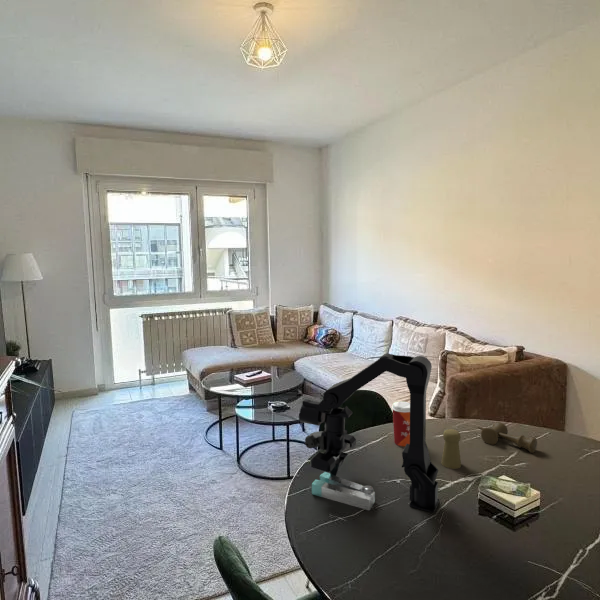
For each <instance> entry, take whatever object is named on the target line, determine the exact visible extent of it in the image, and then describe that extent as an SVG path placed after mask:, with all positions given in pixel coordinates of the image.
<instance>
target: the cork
mask: <svg viewBox="0 0 600 600" xmlns="http://www.w3.org/2000/svg"><path fill="white" fill-rule="evenodd" d="M442 435H443V440H444V443H443V449H442V450H443V451H442V456H441V461H440V462H441V465H442V466H443V467H444V468H447V469H449V470H452V469H453V470H455V469H460V468H461V467H462V460H461V450H460V444H459V443H460V441H461V438H462V437H461V433H460V432H459V431H458V430H456V429H451V428H449V429H445V430H444V432H443V434H442Z"/></svg>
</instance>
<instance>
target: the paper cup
mask: <svg viewBox="0 0 600 600" xmlns="http://www.w3.org/2000/svg"><path fill="white" fill-rule="evenodd" d="M391 409H392V422H393V425H392V426H393V439H394V440H393V441H394V442H393V443H394V445H396V446H398V447H405V446H406V444H410V401H409V402H407V401H395V402H394V403H392V406H391Z"/></svg>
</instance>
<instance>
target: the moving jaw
mask: <svg viewBox="0 0 600 600" xmlns="http://www.w3.org/2000/svg"><path fill="white" fill-rule="evenodd" d="M319 480H320V481H324V482H326V483H329V484H333V485H337V486H340V487H344V488H348V489H352V490H355V491H359V492H362V487H363V486H364V485H362V484H361V483H360V484H359V483H356V482H354V481H351V480H348V479H346V478H342V477H339V476H338V475H337V476H334V475H333V474H330V472H325V471H323V473H321V474H320V475H319Z"/></svg>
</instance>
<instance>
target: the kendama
mask: <svg viewBox="0 0 600 600" xmlns="http://www.w3.org/2000/svg"><path fill="white" fill-rule="evenodd" d="M476 428H477V429H478V430H481V432H480V438H481V439H482V441H483V442H484V443H485V444H488V445H496V444H497V443H498V441H499V438H502V439H504V440H505V439H506V440H508V441H509V442H511V443H513V444H515V445H516V446H517V447H518V448H520V449H521V448H523V449H525V450H527V451H529V453H531V454H533V453H535V452H536V450H537V447H538V439H537V437H532V438H531V437H526V436H525V435H523V434H521V435H513V434H509V432H508V426H507V425H506V424H505V423H503V422H500V421H496V422H494V423H493V424H492V427H488V426H487V427H481V426H477V427H476Z"/></svg>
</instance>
